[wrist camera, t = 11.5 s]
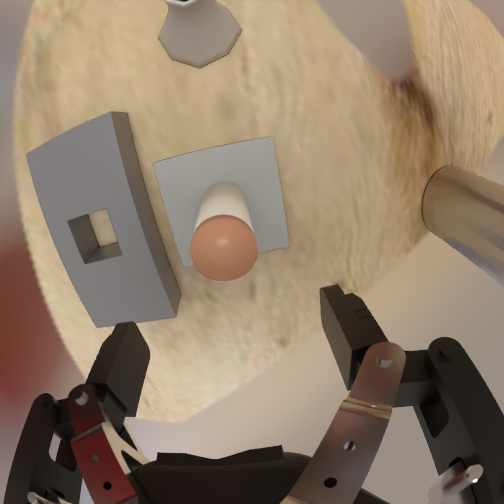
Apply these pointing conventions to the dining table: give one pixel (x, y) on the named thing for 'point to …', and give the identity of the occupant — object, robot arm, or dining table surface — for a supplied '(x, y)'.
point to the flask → (198, 31)
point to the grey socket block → (121, 216)
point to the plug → (223, 234)
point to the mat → (230, 170)
